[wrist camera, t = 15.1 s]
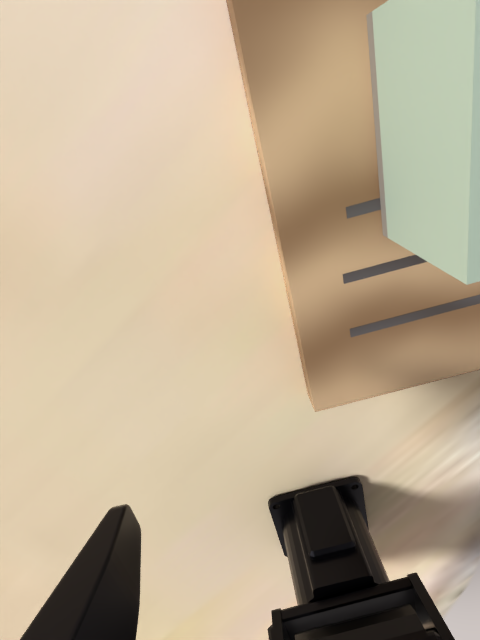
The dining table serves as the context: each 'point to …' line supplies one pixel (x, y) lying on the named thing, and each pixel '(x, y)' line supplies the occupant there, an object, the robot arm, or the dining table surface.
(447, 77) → the block
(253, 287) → the dining table surface
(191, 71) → the dining table surface
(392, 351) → the oak board
